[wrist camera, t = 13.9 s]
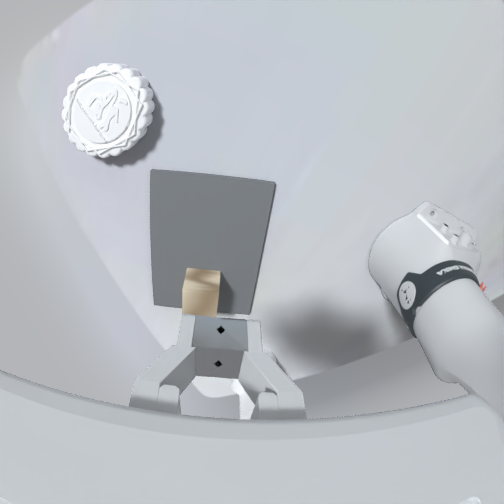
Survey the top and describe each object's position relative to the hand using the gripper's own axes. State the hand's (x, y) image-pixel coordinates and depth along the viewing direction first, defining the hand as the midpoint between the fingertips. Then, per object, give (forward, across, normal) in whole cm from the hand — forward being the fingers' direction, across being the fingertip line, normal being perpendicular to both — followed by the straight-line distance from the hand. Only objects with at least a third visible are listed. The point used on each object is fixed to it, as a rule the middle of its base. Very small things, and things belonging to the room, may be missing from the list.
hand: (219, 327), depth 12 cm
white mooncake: (+30, +16, -4) cm, 34 cm away
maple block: (+24, +2, +21) cm, 32 cm away
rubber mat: (+29, +2, +15) cm, 33 cm away
